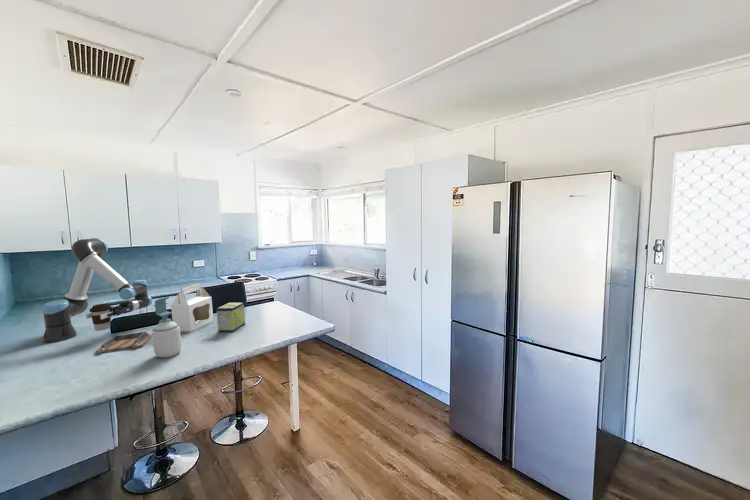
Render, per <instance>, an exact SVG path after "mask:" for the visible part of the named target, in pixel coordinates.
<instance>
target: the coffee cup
mask: <svg viewBox="0 0 750 500" xmlns="http://www.w3.org/2000/svg"><path fill="white" fill-rule="evenodd" d="M111 307H112V306H111V305H109V304H108V303H99V304H98V303H97V304H94V305H93V306H92V307H91V308H89V313H91V314H92V315H91V316H92V317H91V320H92V324H93V327H94V330H95V331H97V332H100V331H102V332H103V331H106V330H110V328H111V319H112V318H111V317H112V316H111V317H108V318H105V319H101V317H100V315H102V314H105V313H108V312H110V309H111Z"/></svg>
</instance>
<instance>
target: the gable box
mask: <svg viewBox="0 0 750 500" xmlns="http://www.w3.org/2000/svg"><path fill="white" fill-rule="evenodd" d="M193 292H196V293H195V296H193V297H190V298H186V297H185V295H186V294H190V293H193ZM170 308H171V311H170V312H171V313H172V314H171V321H172V322H175V323H177V324H179V325H178V326H179V327H180V332H183V331H184V332H186V333H187V332H188V333H191V332H193V331H195V330H198V329H200V328H202V327H204V326H206V325H208V324H210V323H212V322H214V313H213V311H214V310H213V299H212V296H211V295H210V294H209V293H208V292H207V291H206V289H205V288H204V287H203V286H202V284H200V283H199V282H198V283H194V284H191V285H188V286H184V287H181V289H180V292H179V293H177V295H176V297H175V298H174V300H173V301H172V303H171V304H170ZM197 320H202V321H200V322H199V323H198V324H195V321H197Z"/></svg>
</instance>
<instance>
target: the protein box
mask: <svg viewBox="0 0 750 500" xmlns="http://www.w3.org/2000/svg"><path fill="white" fill-rule="evenodd" d="M216 317H217V319H216V320H217V329H218V331H217V332H218V333H235V332H236V331H238V330H239V329H241V328H242V327H244V326H246V315H245V303H244V302H241V301H240V302H235V301H233V302H228V303H226V304H224V305H221V306H219V307H216Z"/></svg>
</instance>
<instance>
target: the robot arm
mask: <svg viewBox="0 0 750 500" xmlns="http://www.w3.org/2000/svg"><path fill="white" fill-rule="evenodd" d="M108 250H109V246H108V244H107V242H106V241H105V240H103V239H102V238H97V237H95V238H94V237H93V238H86V239H84V238H83V239H78V240H76V241H75V242H74V243H73V244H72V245H71V253H72V255H73V256H74V257H75V258H76V259H77V260H78V265H77V268H76V271H75V274H74V277H73V280H72V283H71V286H70V289H69V292H67V293H65V294H64V297H63V299H56V300H52V301H49V302H47V303H44V304H43V306H42V313H43V319H44V320H43V321H44V327H45V329H44V333H43V335H42V341H43V342H44V343H55V342H57V343H58V342H60V341H66V340H69V339H71V338H74V337H77V335H78V334H77V330H76V328H75V327H74V326H73V323H72V318H73V317H75V316H79V315H81V314H83V313H84V312H86V310H87V309H88V308H89V305H90V302H89V301H88V295H87V292H88V290H89V286H90V284H91V280H92V278H93V275H94V273H96V274H97V275H98V276H99V277H100V278H102V279H103V280H104V281H105V282H107V284H109V285H110V286H111V287H113V288H114V289H115V290H116V291H117V292H118V293H119V294H118V295H119V298H120V299H122V300H125V301H123V302H121V303H119V305H116V306H111V309H110V312H108V313H105V314H102V315H100V317H101V319H105V318H108V317H115V316H118V317H119V316H120V315H122V314H129V313H130V312H133V313H134V312H135V311H138V310H141V309H144V308H148V307H149V306H151V305H152V304H153V298H152V296H149V295H148V284H147V280H146V279H137V280H134V281H133V282H132V284H131V283H130V282H128V281H127V280H126V279H125V278H124V277H123V276H122V275H121V274H119V273H118V272H117V271H116V270H115V269H113V268H112V267H111V266H110V265H109V264H108V263H107V262H106V261H104V260H103V259H102V257H103V256H104V255H105V254H106V253H107V252H108ZM91 315H92V314H91V312H89V313H86V314H85V318H86V319H87V320H88V319H92V316H91Z"/></svg>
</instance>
